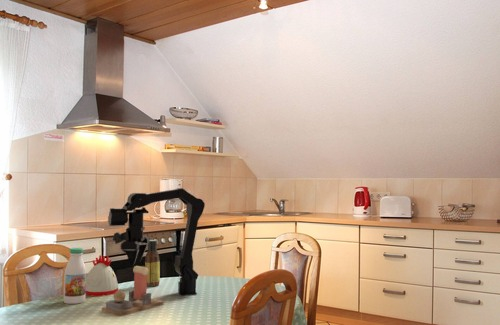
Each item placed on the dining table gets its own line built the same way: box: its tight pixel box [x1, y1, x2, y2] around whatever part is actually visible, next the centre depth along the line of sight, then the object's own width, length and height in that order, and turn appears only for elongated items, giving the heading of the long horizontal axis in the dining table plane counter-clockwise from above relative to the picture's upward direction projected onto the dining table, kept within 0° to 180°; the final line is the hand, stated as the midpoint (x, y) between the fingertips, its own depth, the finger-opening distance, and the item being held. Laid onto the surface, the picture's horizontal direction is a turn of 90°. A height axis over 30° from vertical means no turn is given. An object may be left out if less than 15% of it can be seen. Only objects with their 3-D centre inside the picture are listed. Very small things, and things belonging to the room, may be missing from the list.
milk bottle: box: [62, 247, 87, 305], centre depth 176 cm, size 8×8×20 cm
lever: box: [132, 265, 149, 301], centre depth 172 cm, size 3×5×12 cm, turn 55°
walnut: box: [113, 289, 126, 302], centre depth 164 cm, size 4×4×4 cm
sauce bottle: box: [144, 239, 161, 287], centre depth 206 cm, size 7×6×20 cm
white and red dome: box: [85, 254, 119, 297], centre depth 192 cm, size 14×14×15 cm
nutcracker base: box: [101, 289, 164, 317], centre depth 169 cm, size 20×10×5 cm, turn 145°
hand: (135, 264), depth 183 cm, fingers open, 9 cm apart
